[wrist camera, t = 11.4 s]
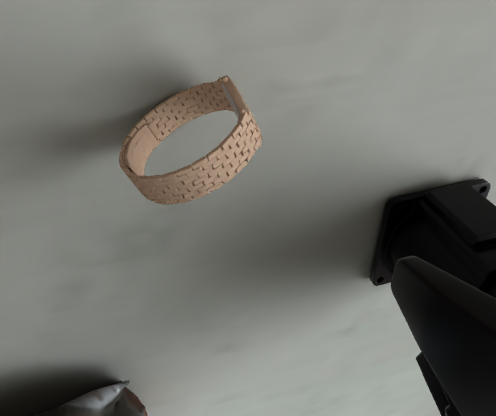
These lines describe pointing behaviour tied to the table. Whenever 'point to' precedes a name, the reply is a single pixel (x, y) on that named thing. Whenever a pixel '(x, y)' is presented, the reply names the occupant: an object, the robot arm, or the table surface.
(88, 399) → the lucky cat figurine
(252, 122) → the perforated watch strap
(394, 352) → the table surface
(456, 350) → the robot arm
